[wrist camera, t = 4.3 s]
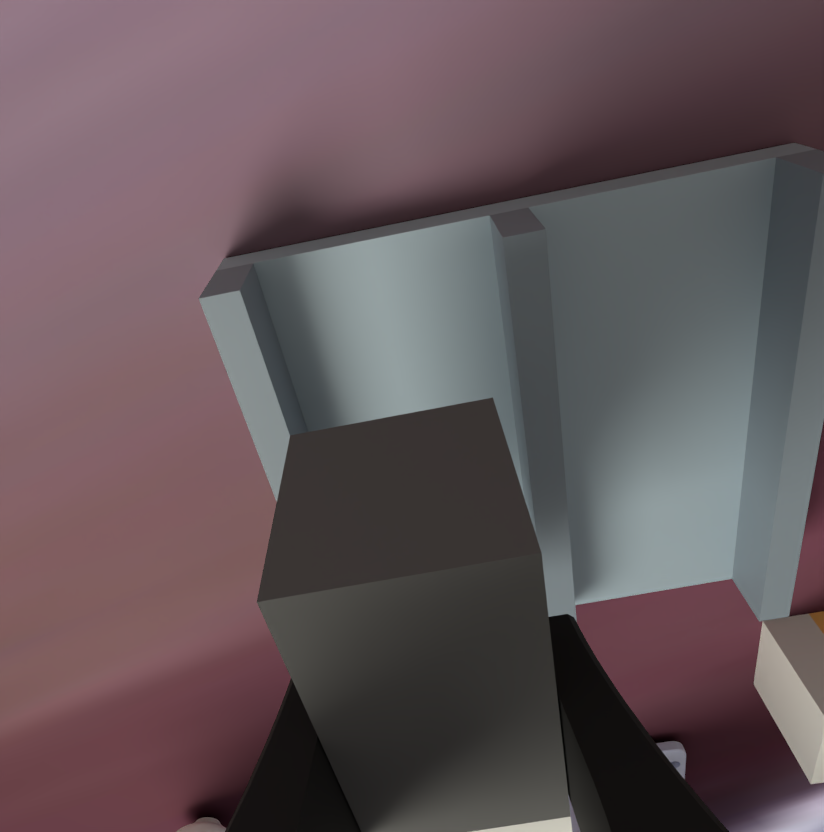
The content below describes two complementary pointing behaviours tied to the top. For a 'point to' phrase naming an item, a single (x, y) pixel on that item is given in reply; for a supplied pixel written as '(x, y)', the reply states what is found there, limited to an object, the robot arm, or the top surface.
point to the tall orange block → (795, 685)
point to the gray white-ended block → (419, 622)
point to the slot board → (577, 361)
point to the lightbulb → (204, 826)
